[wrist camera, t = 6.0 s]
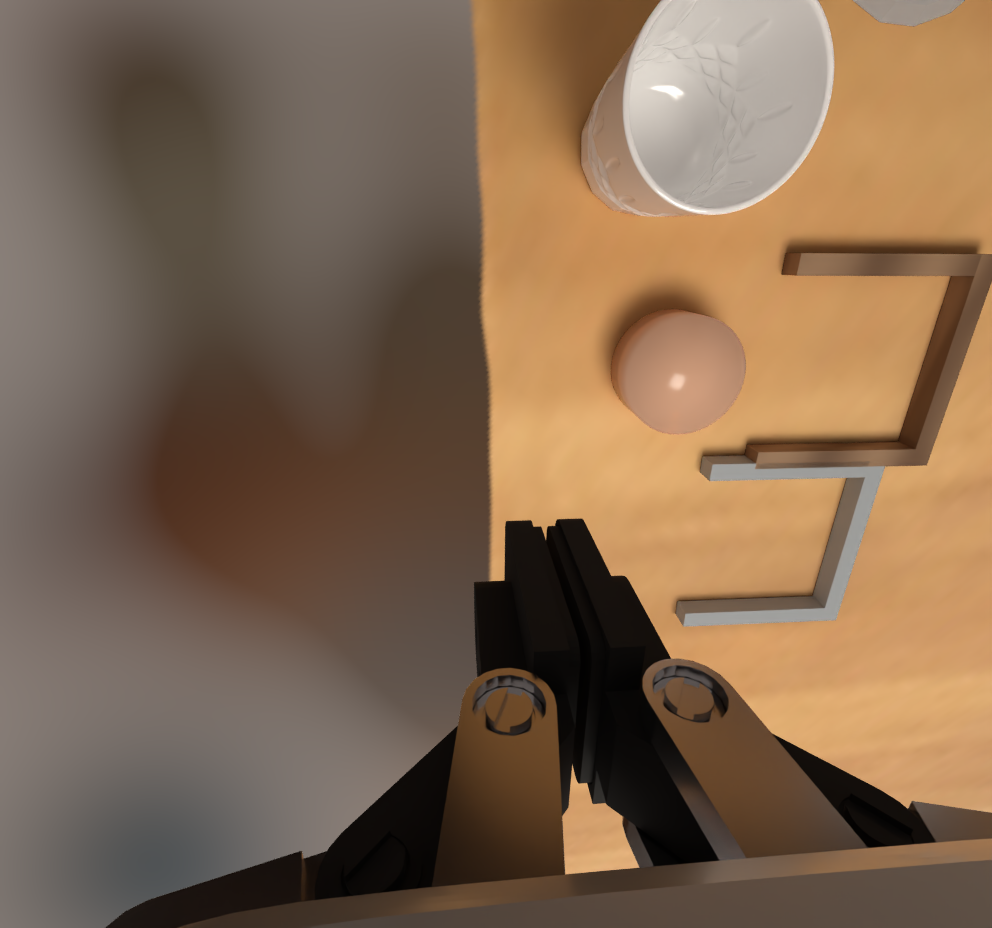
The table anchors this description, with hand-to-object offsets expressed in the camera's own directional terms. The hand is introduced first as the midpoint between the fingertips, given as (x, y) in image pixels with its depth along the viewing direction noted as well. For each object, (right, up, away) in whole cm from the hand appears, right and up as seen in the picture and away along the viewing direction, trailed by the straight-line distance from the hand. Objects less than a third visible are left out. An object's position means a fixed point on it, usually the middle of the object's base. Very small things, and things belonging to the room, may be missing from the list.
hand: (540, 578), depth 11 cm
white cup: (+7, +20, +17) cm, 27 cm away
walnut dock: (+22, +9, +22) cm, 32 cm away
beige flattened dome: (+10, +9, +22) cm, 25 cm away
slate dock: (+19, -3, +27) cm, 33 cm away
